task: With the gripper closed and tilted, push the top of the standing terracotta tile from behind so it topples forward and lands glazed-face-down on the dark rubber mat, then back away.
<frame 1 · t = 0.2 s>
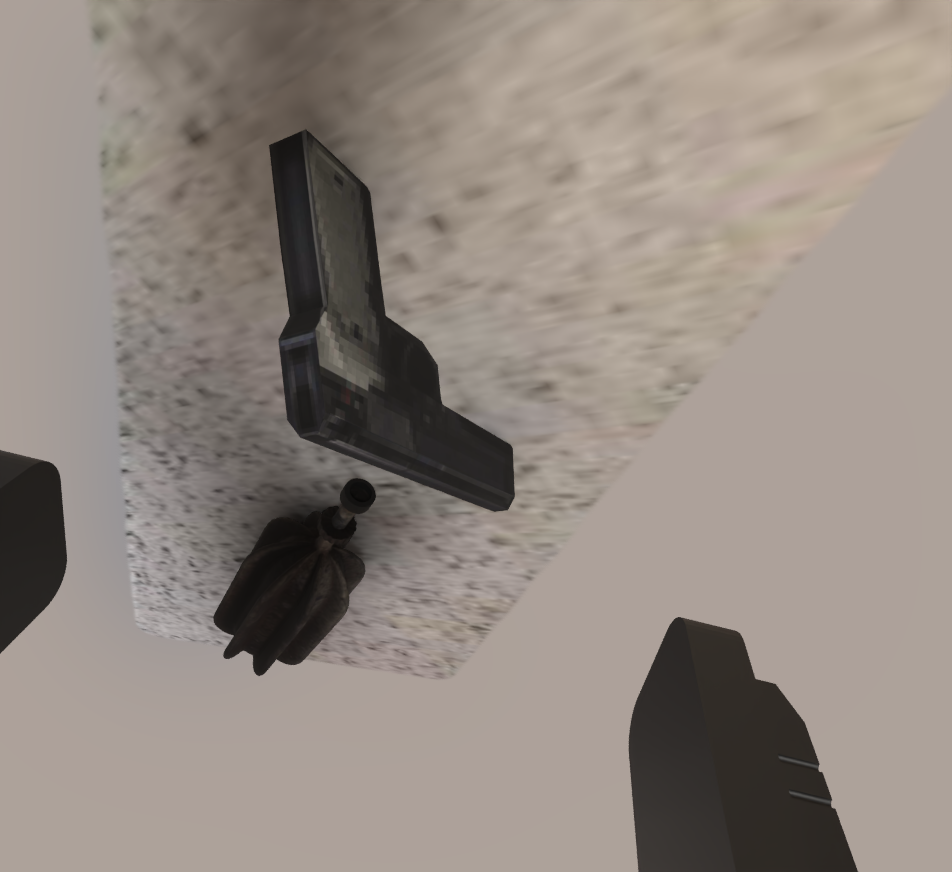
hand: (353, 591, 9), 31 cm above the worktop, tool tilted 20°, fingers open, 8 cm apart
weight: (315, 536, 68), on the worktop
handgun: (427, 322, 46), on the worktop
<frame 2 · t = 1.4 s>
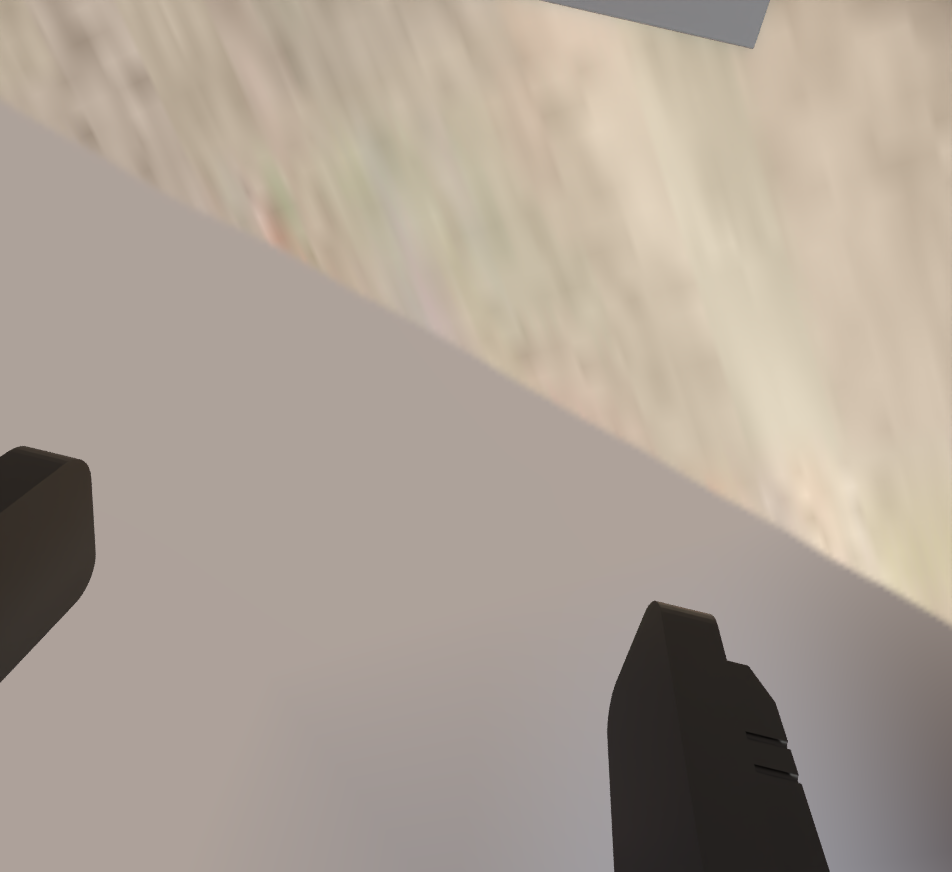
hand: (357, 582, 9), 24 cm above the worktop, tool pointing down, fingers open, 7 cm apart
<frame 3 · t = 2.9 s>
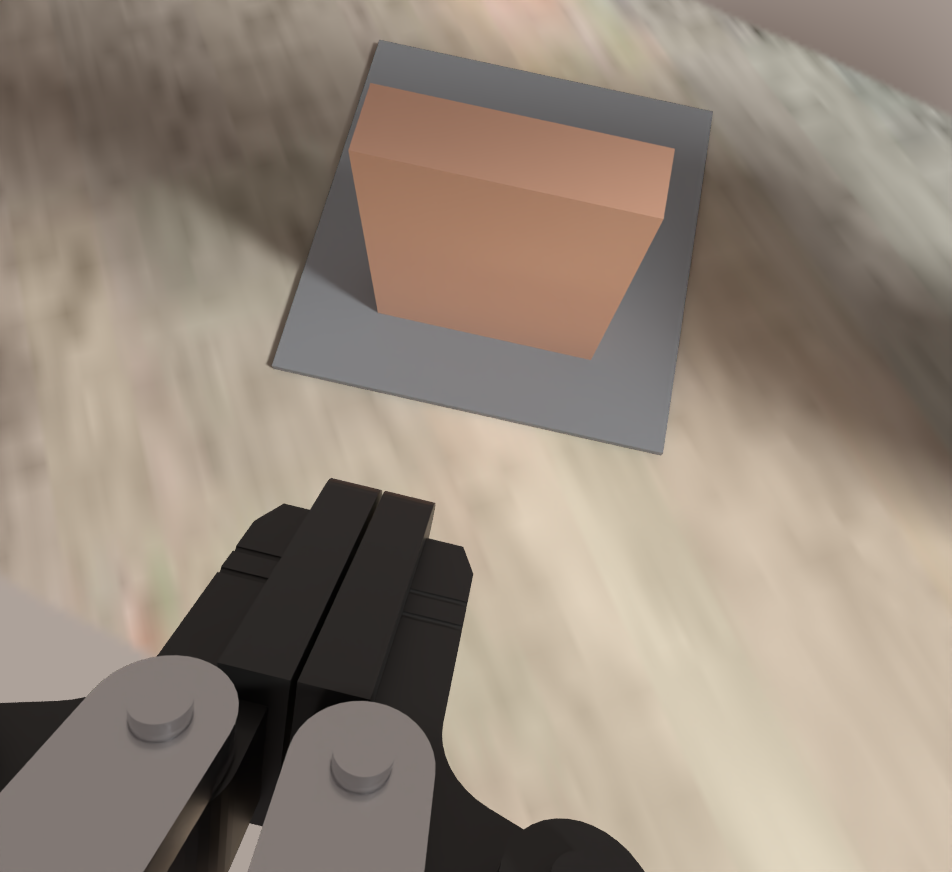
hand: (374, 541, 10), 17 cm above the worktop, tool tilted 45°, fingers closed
mat: (508, 232, 31), on the worktop
tile: (490, 310, 30), resting on mat
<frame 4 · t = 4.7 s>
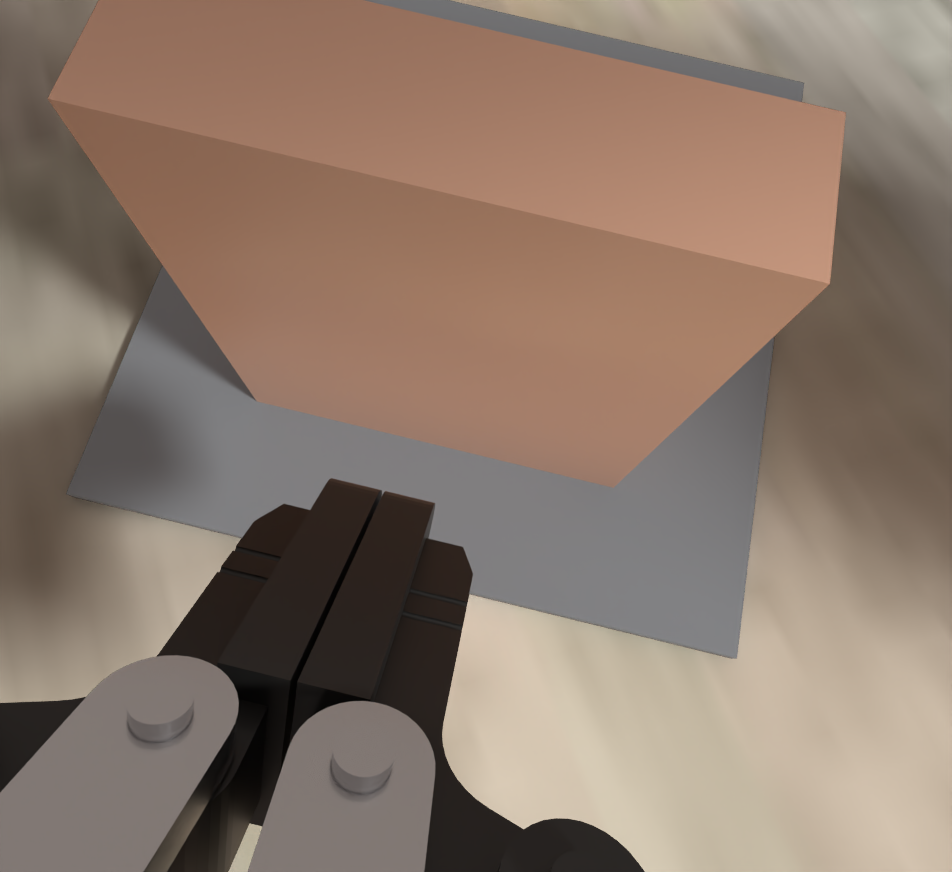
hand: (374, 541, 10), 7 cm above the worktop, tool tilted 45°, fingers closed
mat: (481, 268, 19), on the worktop
tile: (446, 399, 18), resting on mat
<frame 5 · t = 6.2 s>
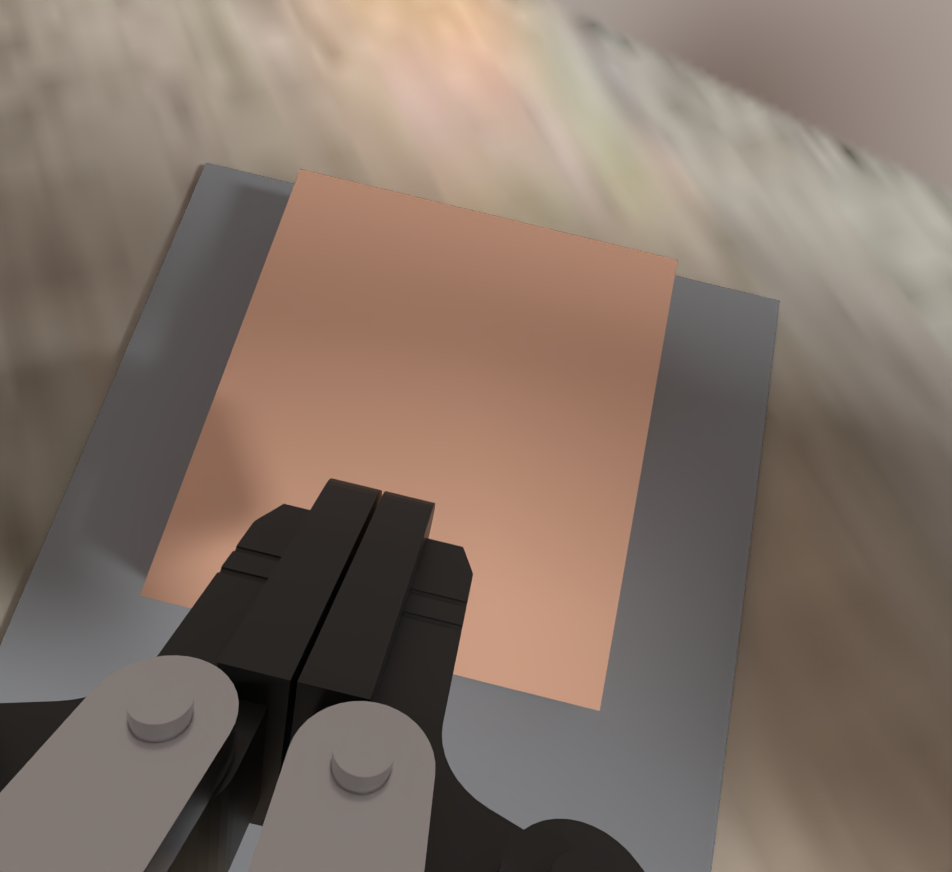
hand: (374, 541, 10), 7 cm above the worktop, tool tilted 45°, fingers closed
mat: (409, 536, 17), on the worktop
tile: (373, 653, 15), point 2 cm above the worktop, tilted 90°, touching mat
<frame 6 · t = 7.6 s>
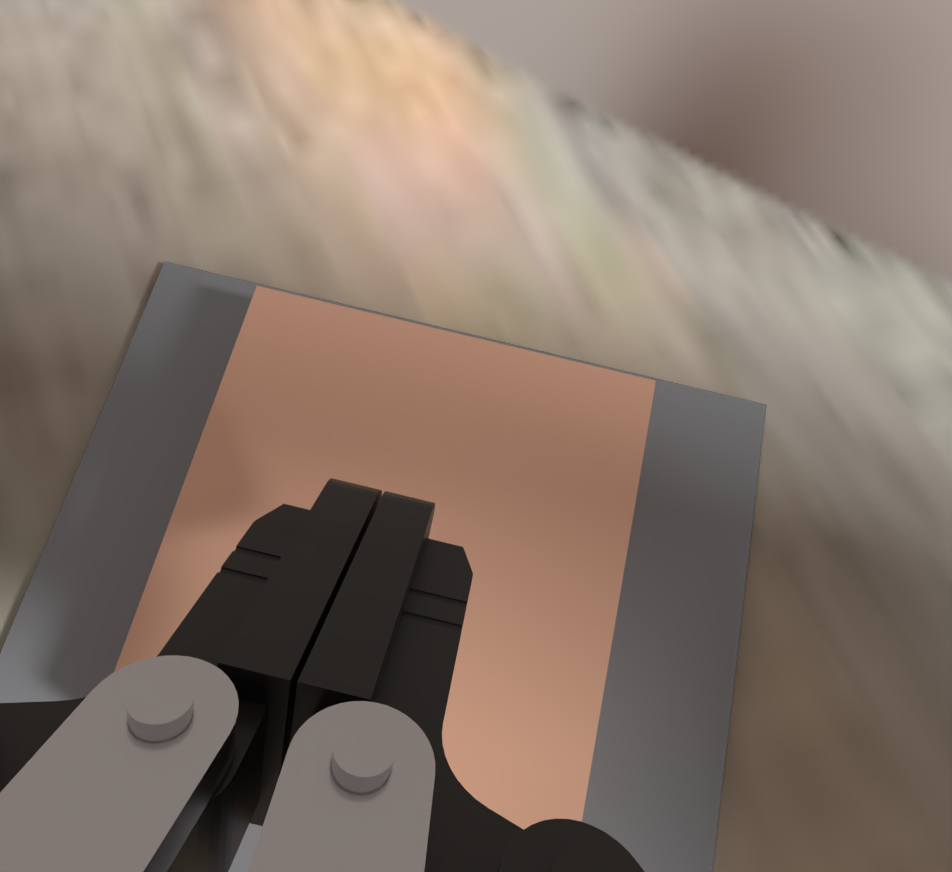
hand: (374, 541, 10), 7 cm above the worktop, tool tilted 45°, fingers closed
mat: (375, 669, 16), on the worktop
tile: (331, 817, 14), point 2 cm above the worktop, tilted 90°, touching mat
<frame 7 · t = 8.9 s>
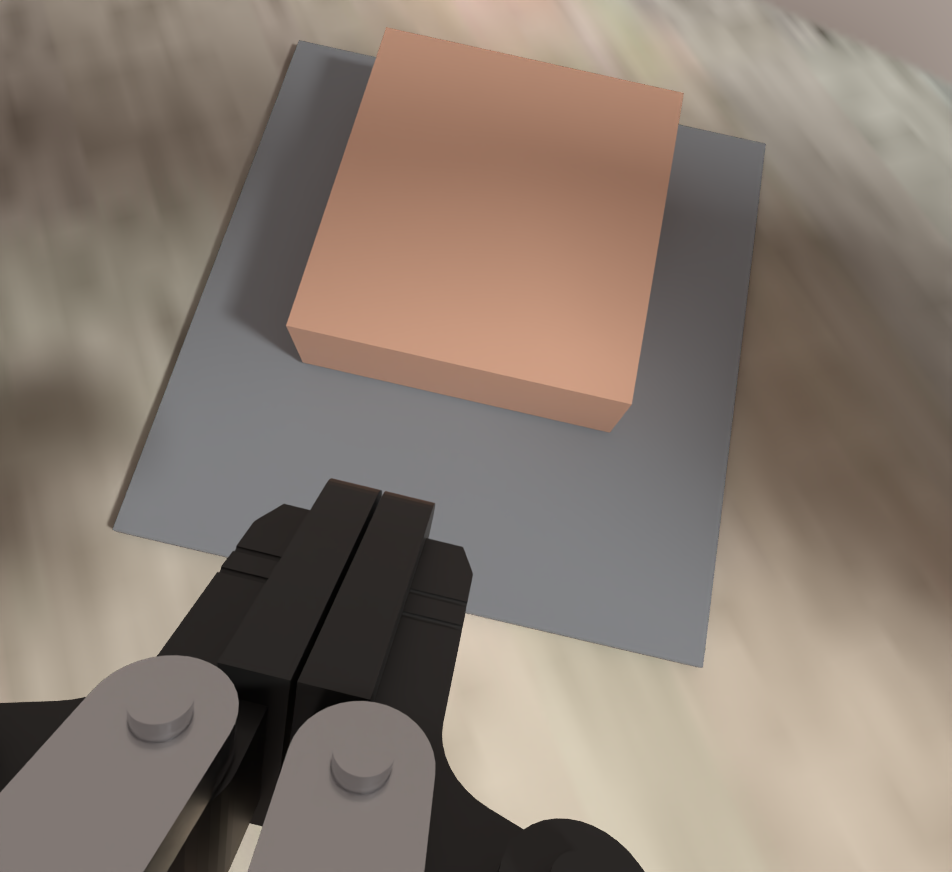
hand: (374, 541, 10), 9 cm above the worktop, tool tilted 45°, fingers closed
mat: (475, 319, 22), on the worktop
tile: (456, 382, 19), point 2 cm above the worktop, tilted 90°, touching mat
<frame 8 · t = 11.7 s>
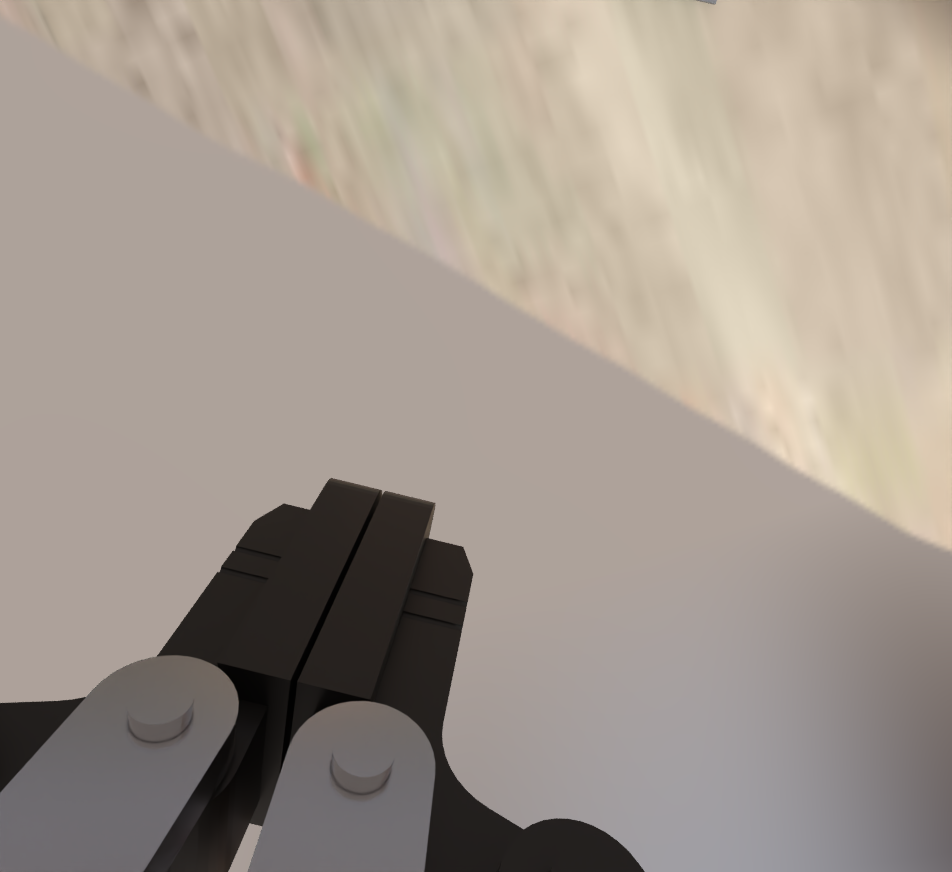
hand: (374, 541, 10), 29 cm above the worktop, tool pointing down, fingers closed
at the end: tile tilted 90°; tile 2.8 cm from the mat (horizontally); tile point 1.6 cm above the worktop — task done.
